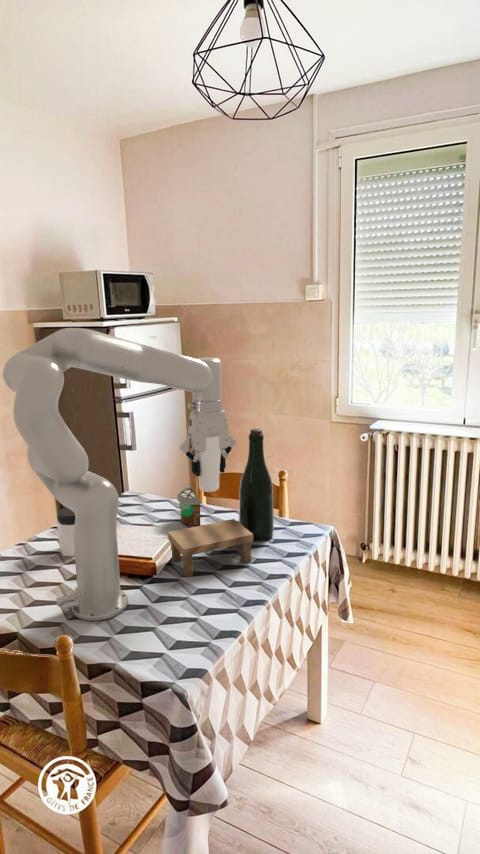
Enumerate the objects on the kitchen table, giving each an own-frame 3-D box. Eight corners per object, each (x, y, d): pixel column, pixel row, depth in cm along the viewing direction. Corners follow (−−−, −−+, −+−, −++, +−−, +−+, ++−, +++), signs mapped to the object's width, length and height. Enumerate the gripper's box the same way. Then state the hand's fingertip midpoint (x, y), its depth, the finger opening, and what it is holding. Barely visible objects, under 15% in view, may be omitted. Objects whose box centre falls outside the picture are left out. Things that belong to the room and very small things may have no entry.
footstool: (184, 578, 135) (183, 549, 133) (169, 559, 145) (167, 532, 143) (253, 561, 143) (253, 534, 142) (234, 544, 154) (233, 518, 152)
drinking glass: (218, 494, 136) (217, 438, 132) (193, 492, 137) (191, 437, 134) (224, 486, 142) (223, 432, 139) (200, 484, 143) (199, 431, 140)
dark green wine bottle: (232, 534, 161) (230, 429, 154) (257, 525, 168) (257, 424, 160) (255, 545, 153) (255, 435, 146) (280, 535, 160) (281, 429, 153)
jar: (57, 547, 153) (53, 508, 150) (85, 541, 157) (82, 503, 154) (64, 559, 145) (61, 519, 143) (93, 552, 149) (90, 513, 147)
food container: (174, 516, 175) (173, 487, 173) (192, 514, 177) (192, 486, 175) (182, 530, 164) (181, 500, 162) (201, 528, 165) (200, 498, 163)
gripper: (180, 411, 128) (183, 482, 132) (244, 405, 135) (244, 472, 139) (170, 406, 134) (172, 474, 138) (231, 401, 142) (232, 465, 146)
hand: (208, 472), depth 139 cm, fingers closed on drinking glass, 6 cm apart
